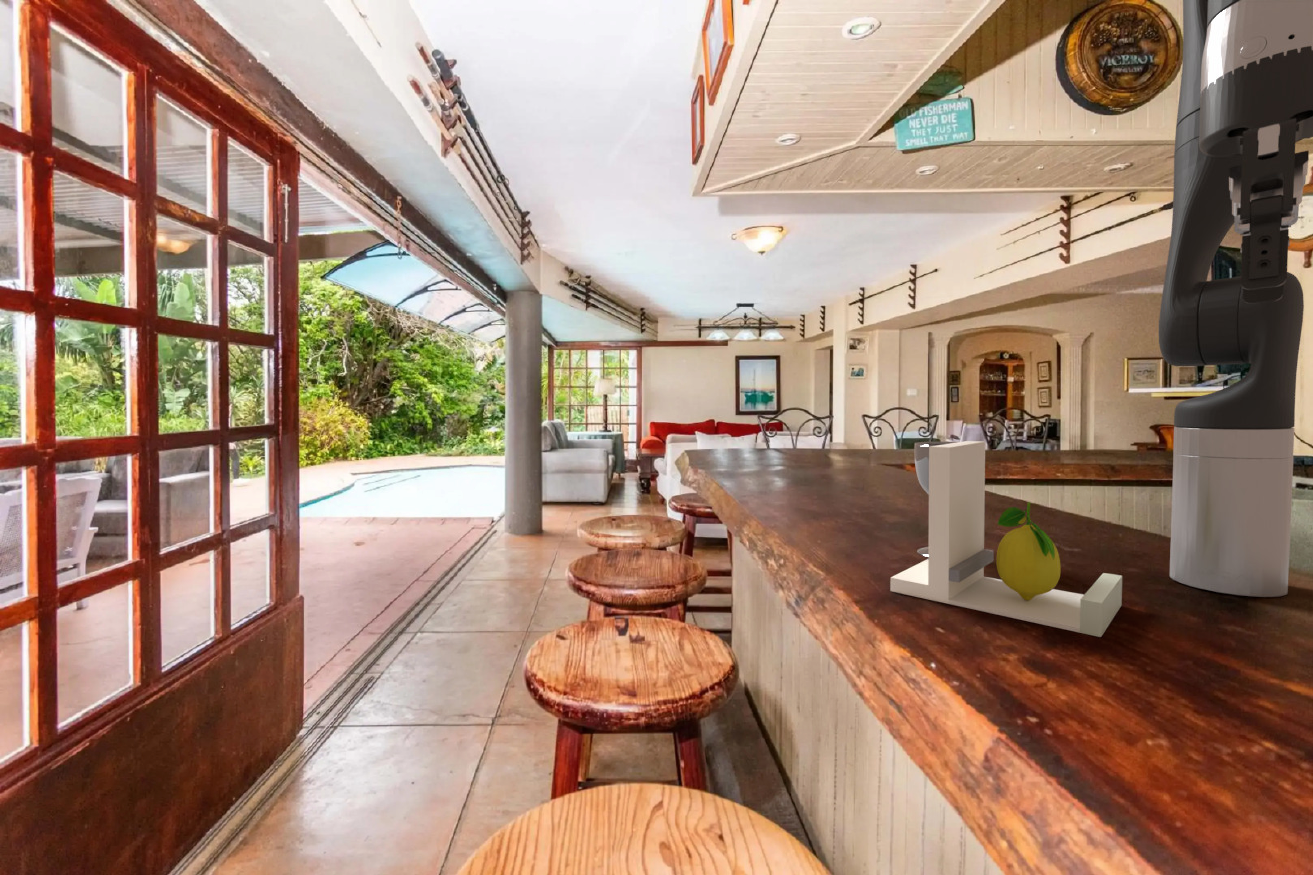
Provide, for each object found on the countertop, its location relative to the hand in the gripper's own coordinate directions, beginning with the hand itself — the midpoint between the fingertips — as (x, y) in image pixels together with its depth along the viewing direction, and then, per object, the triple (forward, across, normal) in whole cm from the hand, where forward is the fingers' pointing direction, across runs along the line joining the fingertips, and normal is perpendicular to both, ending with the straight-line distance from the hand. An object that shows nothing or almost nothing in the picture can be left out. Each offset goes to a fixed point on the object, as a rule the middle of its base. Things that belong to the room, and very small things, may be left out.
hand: (1262, 295), depth 43 cm
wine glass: (+28, +19, +29) cm, 45 cm away
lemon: (+28, +4, +16) cm, 32 cm away
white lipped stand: (+28, +4, +18) cm, 34 cm away
